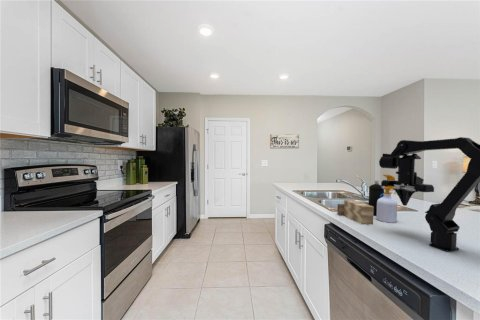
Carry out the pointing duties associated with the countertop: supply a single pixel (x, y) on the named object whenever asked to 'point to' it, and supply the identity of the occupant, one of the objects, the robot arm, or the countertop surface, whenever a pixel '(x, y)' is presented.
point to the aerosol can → (375, 195)
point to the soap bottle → (387, 205)
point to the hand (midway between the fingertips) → (404, 205)
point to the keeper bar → (358, 211)
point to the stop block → (340, 209)
